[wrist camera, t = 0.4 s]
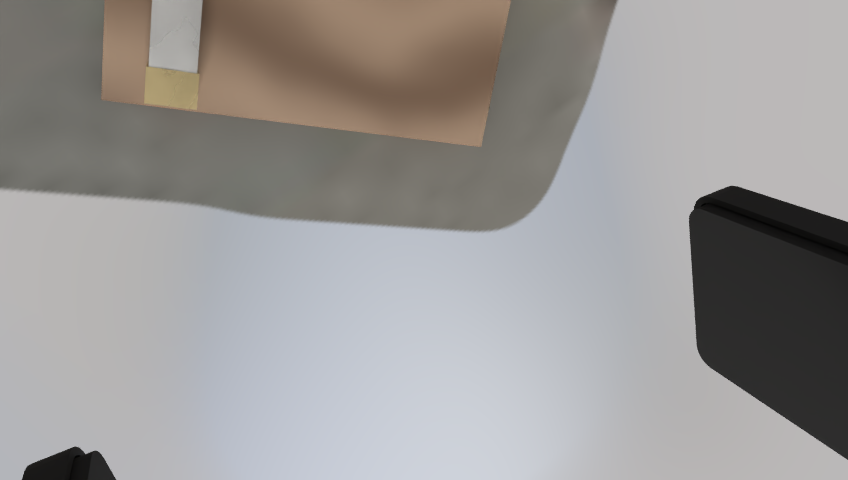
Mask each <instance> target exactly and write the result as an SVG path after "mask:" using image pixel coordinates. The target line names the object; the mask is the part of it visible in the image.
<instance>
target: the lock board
mask: <svg viewBox="0 0 848 480" xmlns="http://www.w3.org/2000/svg"><path fill="white" fill-rule="evenodd" d="M510 2H511V0H203V2H202V16H201V29H200V42H199V55H198V71H199V74H200V75H199V88H198V101H197V110H193V109H185V108H177V107H169V106H161V105H153V104H145V103H144V95H145V76H146V65H147V62H148V61H149V49H150V31H151V12H152V0H105V7H104V37H103V66H102V95H101V100H107V101H115V102H123V103H131V104H139V105H147V106H155V107H163V108H171V109H179V110H187V111H195V112H203V113H211V114H220V115H228V116H236V117H244V118H252V119H260V120H268V121H276V122H284V123H292V124H300V125H308V126H316V127H324V128H332V129H340V130H348V131H356V132H365V133H373V134H381V135H389V136H397V137H405V138H413V139H421V140H429V141H437V142H445V143H453V144H461V145H469V146H477V147H481V144H482V139H483V134H484V129H485V125H486V120H487V115H488V110H489V105H490V100H491V95H492V90H493V85H494V80H495V76H496V71H497V66H498V61H499V56H500V51H501V46H502V41H503V36H504V32H505V27H506V22H507V17H508V12H509V7H510Z"/></svg>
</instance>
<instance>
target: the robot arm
mask: <svg viewBox="0 0 848 480" xmlns="http://www.w3.org/2000/svg"><path fill="white" fill-rule="evenodd" d="M689 227H690V244H691V260H692V275H693V291H694V307H695V323H696V339H697V348H698V352H699V354H700V356H701V358H702V359H703V361H704V362H705V363H706V364H707V365H708V366H709V367H710V368H712V369H713V370H715V371H716V372H718V373H719V374H721V375H722V376H724V377H725V378H727V379H728V380H730V381H731V382H733V383H734V384H736V385H737V386H739V387H740V388H742V389H743V390H745V391H746V392H748V393H749V394H751V395H752V396H753V397H755V398H756V399H758V400H759V401H761V402H762V403H764V404H766V405H767V406H768V407H770V408H771V409H773V410H774V411H776V412H777V413H779V414H780V415H782V416H783V417H785V418H786V419H788V420H789V421H791V422H792V423H794V424H795V425H797V426H798V427H800V428H801V429H803V430H804V431H806V432H807V433H809V434H810V435H812V436H813V437H815V438H816V439H818V440H819V441H821V442H822V443H824V444H825V445H827V446H828V447H830V448H831V449H833V450H834V451H836V452H837V453H838V454H840V455H842V456H843V457H844V458H846V459H847V460H848V222H846V221H843V220H840V219H837V218H834V217H830V216H827V215H824V214H821V213H818V212H815V211H812V210H809V209H806V208H803V207H799V206H796V205H793V204H790V203H787V202H784V201H781V200H778V199H774V198H771V197H768V196H765V195H762V194H759V193H756V192H753V191H750V190H746V189H743V188H740V187H736V186H729V187H726V188H724V189H721V190H718V191H716V192H713V193H711V194H708V195H706V196H704V197H701V198H699V199H698V200H697V201H696V204H695V206H694V210H693V211H692V212H691V214H690V216H689ZM22 480H116V479H115V477H114V475H113V474H112V472H111V470H110V468H109V466H108V465H107V463H106V461H105V459H104V458H103V457H102V455H101V454H100V453H99V452H98V451H93V452H90V453H88V454H85V453H84V452H83V451H82V450H81V449H80V448H78V447H73V448H70V449H67V450H65V451H62V452H60V453H57V454H55V455H53V456H50V457H48V458H45V459H42V460H40V461H37V462H35V463H32V464H31V465H29V466H27V468H26V470H25V471H24V475H23V478H22Z"/></svg>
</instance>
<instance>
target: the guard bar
mask: <svg viewBox="0 0 848 480" xmlns="http://www.w3.org/2000/svg"><path fill="white" fill-rule="evenodd" d="M202 2H203V0H152V12H151V31H150V49H149V61H148V62H147V65H146V76H145V95H144V103H145V104H153V105H161V106H169V107H177V108H185V109H193V110H197V101H198V88H199V75H200V74H199V71H198V55H199V42H200V29H201V16H202Z"/></svg>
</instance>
